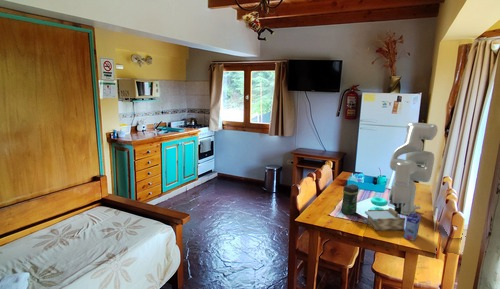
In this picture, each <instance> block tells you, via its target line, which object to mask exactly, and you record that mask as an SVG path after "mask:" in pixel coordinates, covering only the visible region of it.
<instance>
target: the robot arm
mask: <svg viewBox="0 0 500 289" xmlns="http://www.w3.org/2000/svg"><path fill="white" fill-rule="evenodd" d="M406 126H407V127H406V135H405V139H404V143H403V144H402V145H400V146H399V147H398V148H396V149H395V150H394V151H393V153H392V155H391V159H390V162H389V168H390V170H391V171H394V173H395V174H394V180H393V182H394V183H393V184H392V185H391V187H390V190H389V191H390V192H389V196H388V200H389V204H390V205H392V206H393V209H394V210H395V211H396V212H397V213H398V215H407V216H409V215H410V213H411V212H412V213H416V210H420V209H421V206H420V205H418V206H417V205H416V204H415V199H416V192H417V185H416V183H415V181H416V182H419V183H420V182H421V183H429V182H430V181H431V178H432V174H433V168H434V163H435V155H434V153H433V152H432V151H427V150H423V149H424V142H423V141H422V140H424V141H433V140H434V139H435V138H436V136H437V133H438V129H439V128H438V126H437V125H436V124H435V123H424V122H410V123H408V124H407V125H406ZM404 154H405V159H404V158H399V157H401V156H402V155H404Z"/></svg>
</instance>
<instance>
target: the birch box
mask: <svg viewBox="0 0 500 289" xmlns="http://www.w3.org/2000/svg"><path fill="white" fill-rule="evenodd" d="M383 209H384V210H370V209H368V210H367V211H389V208H388V209H385V208H383ZM392 209H393V210H394V208H392ZM398 217H399V218H378V221H373V220H372V219H371V218H370V217H369V216H368V215H367V216H366V222H367V223H368V224H369V225H370V226H371V227H372V228H373V229H374V230H375V231H376V232H381V231H382V232H385V231H386V232H387V231H388V232H391V231H405V225H406V217H401V216H400V215H398Z"/></svg>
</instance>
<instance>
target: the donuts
mask: <svg viewBox="0 0 500 289" xmlns="http://www.w3.org/2000/svg"><path fill="white" fill-rule="evenodd" d="M370 202H371V203H372V205H374V206H373V207H371V208H370V209H369V210H384V209H385V208H383V207H385V206H387V205H388V203H389V201H388V200H387V199H386V198H383V197H380V196H379V197H378V196H373V197H372V198H370Z"/></svg>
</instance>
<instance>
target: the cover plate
mask: <svg viewBox="0 0 500 289" xmlns="http://www.w3.org/2000/svg"><path fill="white" fill-rule="evenodd" d="M388 209H389V211H368V210H366V211H364V214H365V215H366V216H367V217H368V216H369V217H370V218H371V219H372V220H373V221H378V218H399V217H398V216H399V214H398V213H397V212H396V211H395V210H393V209H394V208H392V207H389V208H388Z"/></svg>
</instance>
